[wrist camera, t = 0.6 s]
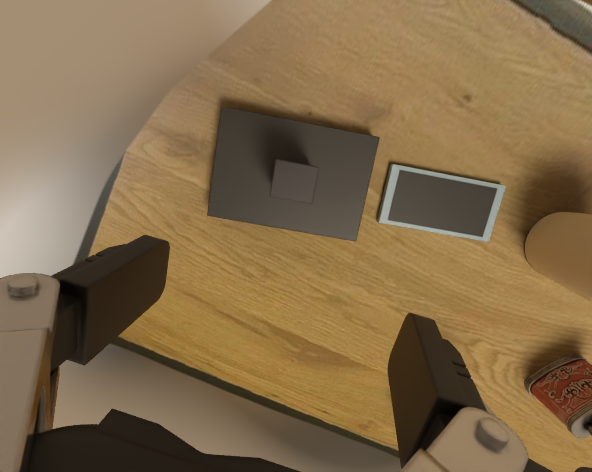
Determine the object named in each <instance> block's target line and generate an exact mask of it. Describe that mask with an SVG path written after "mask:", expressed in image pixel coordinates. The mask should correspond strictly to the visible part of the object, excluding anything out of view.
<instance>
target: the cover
mask: <svg viewBox="0 0 592 472" xmlns="http://www.w3.org/2000/svg"><path fill="white" fill-rule="evenodd" d="M378 142H379V137H376V136H371V135H366V134H361V133H356V132H351V131H346V130H341V129H336V128H331V127H326V126H320V125H315V124H310V123H305V122H300V121H295V120H290V119H285V118H280V117H275V116H270V115H265V114H260V113H255V112H250V111H244V110H239V109H234V108H229V107H224V106H222V107H221V114H220V122H219V129H218V137H217V145H216V152H215V160H214V168H213V175H212V183H211V191H210V198H209V206H208V214H207V215H208V216H212V217H218V218H224V219H230V220H235V221H241V222H247V223H253V224H258V225H264V226H270V227H276V228H281V229H287V230H293V231H299V232H304V233H310V234H316V235H322V236H327V237H333V238H339V239H345V240H350V241H356V239H357V235H358V230H359V226H360V221H361V217H362V213H363V208H364V204H365V199H366V195H367V191H368V186H369V182H370V177H371V173H372V169H373V164H374V160H375V155H376V151H377V147H378Z"/></svg>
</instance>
